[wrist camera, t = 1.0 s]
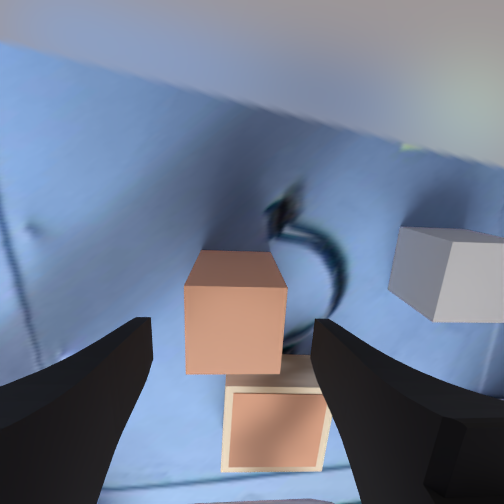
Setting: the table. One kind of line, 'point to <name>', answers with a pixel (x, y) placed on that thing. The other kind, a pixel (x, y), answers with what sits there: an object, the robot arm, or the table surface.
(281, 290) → the terracotta block
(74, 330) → the table surface
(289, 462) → the maple base
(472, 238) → the grey block
